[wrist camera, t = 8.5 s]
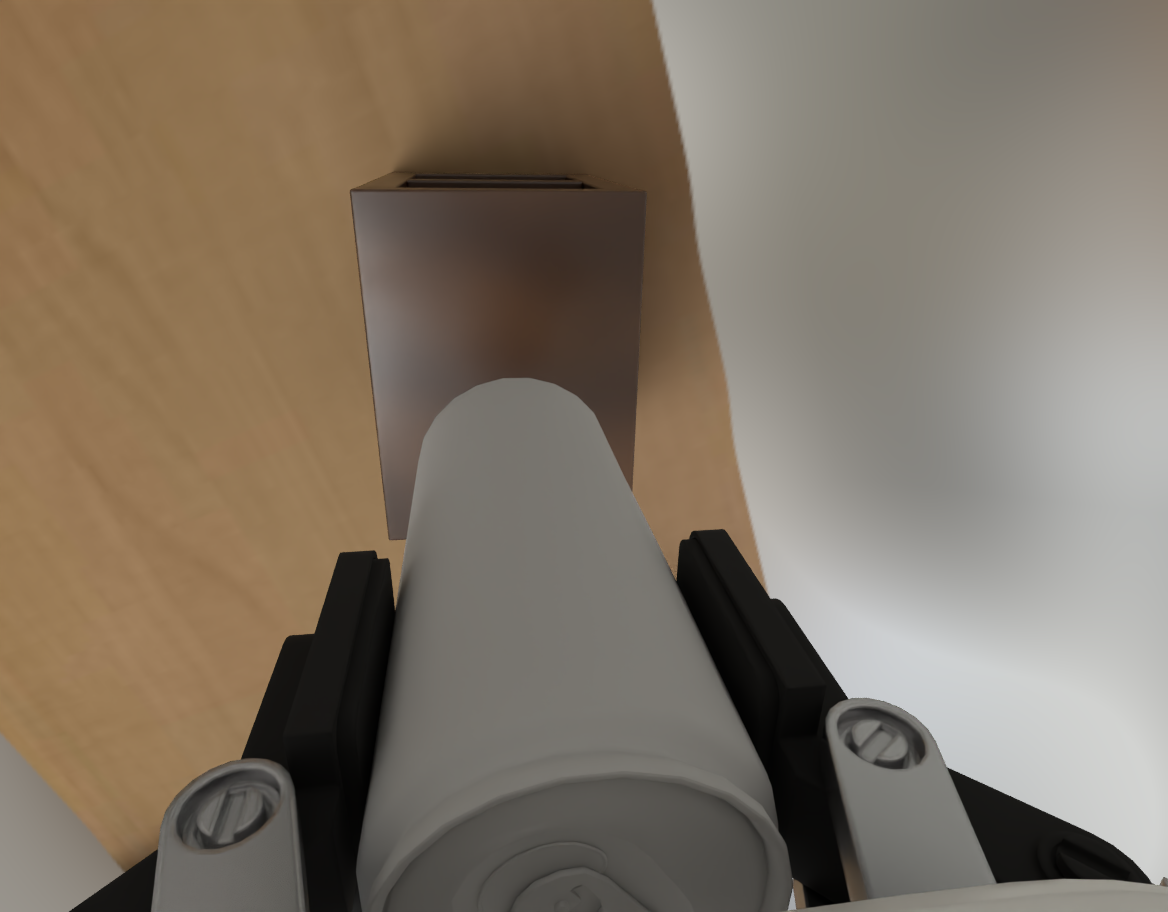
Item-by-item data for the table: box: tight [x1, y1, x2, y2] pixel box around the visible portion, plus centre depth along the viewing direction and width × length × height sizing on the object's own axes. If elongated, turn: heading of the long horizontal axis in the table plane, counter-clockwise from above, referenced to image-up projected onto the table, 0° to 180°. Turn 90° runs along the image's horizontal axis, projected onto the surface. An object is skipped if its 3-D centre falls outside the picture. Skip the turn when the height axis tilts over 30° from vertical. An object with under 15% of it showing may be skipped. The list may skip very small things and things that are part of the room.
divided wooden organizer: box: [350, 172, 647, 540], centre depth 29 cm, size 12×9×12 cm
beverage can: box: [356, 378, 793, 912], centre depth 13 cm, size 5×5×12 cm
